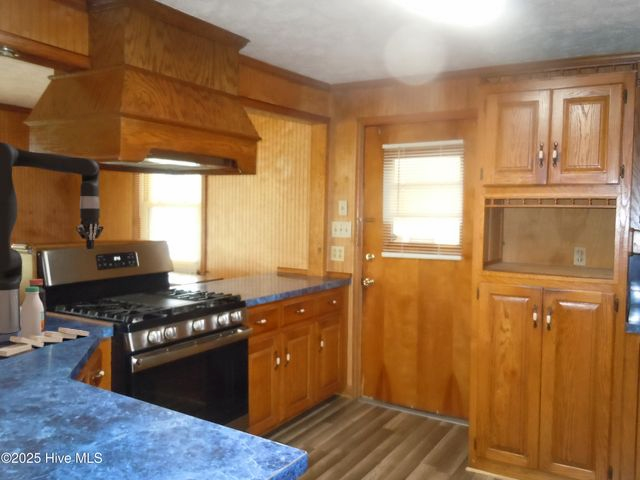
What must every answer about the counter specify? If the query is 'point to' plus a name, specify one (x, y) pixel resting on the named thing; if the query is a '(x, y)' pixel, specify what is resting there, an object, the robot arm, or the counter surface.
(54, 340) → the domino
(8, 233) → the robot arm
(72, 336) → the domino
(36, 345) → the domino
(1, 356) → the domino
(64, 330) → the domino
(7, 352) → the domino
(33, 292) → the milk bottle
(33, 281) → the vinegar
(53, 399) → the counter surface
